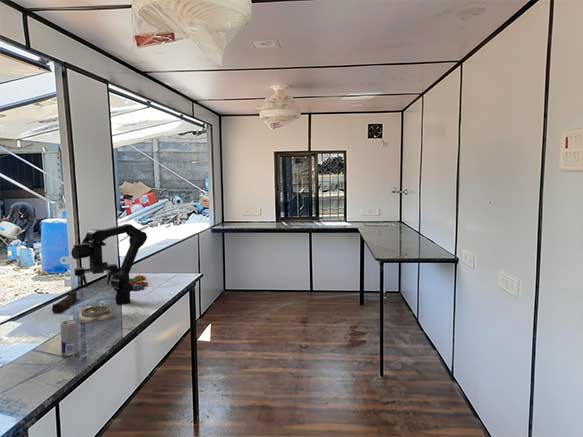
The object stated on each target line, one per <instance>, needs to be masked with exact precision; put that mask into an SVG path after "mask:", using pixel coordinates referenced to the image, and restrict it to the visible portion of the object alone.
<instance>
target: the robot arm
mask: <svg viewBox="0 0 583 437" xmlns="http://www.w3.org/2000/svg"><path fill="white" fill-rule="evenodd" d="M122 234H126V235H127V236H128V237H129V239H128V241H129V246H128V249H127V251H126V255H125V257H124V258H123V261H122V264H121V266H120V268H119V266H118V265H117V264H116V263H112V264H111V263H110V264H109V263H108V261H105V262H103V247H104V246H106V245H107V244H106V243H105V242H104V241H106V239H109V238H112V237H114V236H119V235H122ZM147 239H148V235H147V233H146V232H145V231H142V230H141V229H139V228H137V227H135V226H133V224H130V223H125V224H121V225H117V226H113V227H108V228H105V229H89V230H87V232H86V235H85V237H84V239H83V240H82V242H81V243H79V244H73V248H72V249H71V256H72V259H73V260H80V259H85V258H88V259H89V260H88V262H89V268H85V267H82V266H80V267H75V268H74V271H73V272H74V276H75V277H78V278H81V279H82V281H83V284H84V286H85V288H86V289H88V283H87V279H86V278H87V277H86V273H88V274H89V273H92V274H93V275H97V274H104V272H106V271H107V272H106V286H109V284H110V285H111V287H112V288H113V290H114V291H115V292H116V293H115V298H114V299H115V303H116V305H123V304H124V305H125V304H131V303H132V301H131V292H133V291H132V289H133V287H132V286H131V285H130V284H129V280H130V279H131V278H130V273H131V272H130V271H131V269H132V267H133V265H134V262H135V259H136V257H137V255H138V252H139V250H140V248H141V247H142V246H143V245H145V243H146V241H147ZM116 272H117V273H116Z"/></svg>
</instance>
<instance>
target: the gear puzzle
mask: <svg viewBox="0 0 583 437" xmlns="http://www.w3.org/2000/svg"><path fill="white" fill-rule="evenodd" d="M145 278H146V279H147V277H146V276H144V275H141V274H140V275H136V276H133V277H132V278H129V279H130V280H129V284H130V285H131V286H132V287H133V289H132V291H131V292H135V291H136V292H141V290H142V291H143V289H145V288H146V287H149V283H148V282H143V280H142V279H145ZM146 279H145V280H146ZM147 283H148V284H147ZM145 286H146V287H145ZM145 290H146V289H145Z"/></svg>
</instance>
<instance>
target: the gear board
mask: <svg viewBox="0 0 583 437" xmlns="http://www.w3.org/2000/svg"><path fill="white" fill-rule="evenodd" d="M99 308H102V309H105V311H102V312H99V313H86V311H88V310H89V309H92V305H91V306H90V305H89V306H82V307H80V306H79V307H77V311H78V320H79V321H78V322H79V324H83V323H89V322H96V321H102V320H103V321H104V320H109V319H111V320H112V319H114V318H115V315H114V313H113V310H112V307H111V305H110V303H108V302H103V301H101V302H100V303H99Z"/></svg>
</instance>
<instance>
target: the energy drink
mask: <svg viewBox="0 0 583 437" xmlns="http://www.w3.org/2000/svg"><path fill="white" fill-rule="evenodd" d="M78 333H79V331H78V322H77V320H76V319H75V320H74V319H68V320H64V321H62V322H61V324H60V340H61V341H60V342H61V344H60V345H61V346H60V347H61V355H62V357H65V356H69V357H72V356H71V355H73V356H76V355H77V354H79V334H78ZM75 354H76V355H75Z"/></svg>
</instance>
